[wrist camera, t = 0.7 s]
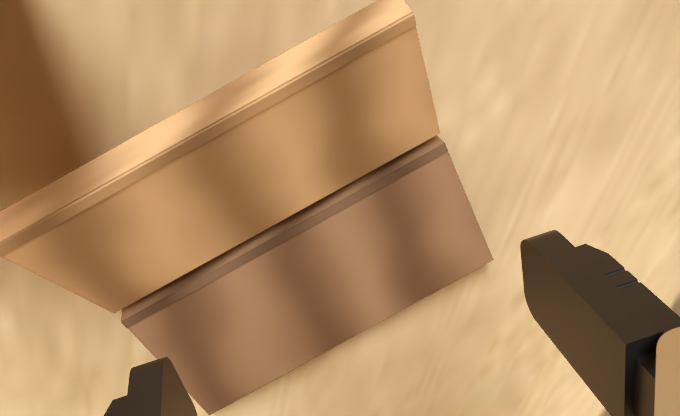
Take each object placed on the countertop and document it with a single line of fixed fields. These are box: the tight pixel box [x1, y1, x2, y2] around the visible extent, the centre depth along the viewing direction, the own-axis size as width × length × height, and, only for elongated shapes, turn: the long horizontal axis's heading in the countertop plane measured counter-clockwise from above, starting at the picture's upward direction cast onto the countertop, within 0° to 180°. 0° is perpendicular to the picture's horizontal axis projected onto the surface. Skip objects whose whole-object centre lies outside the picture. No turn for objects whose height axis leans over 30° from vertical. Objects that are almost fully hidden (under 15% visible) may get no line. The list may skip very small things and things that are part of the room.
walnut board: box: [121, 135, 493, 415], centre depth 36 cm, size 20×9×2 cm, turn 116°
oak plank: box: [0, 0, 440, 313], centre depth 29 cm, size 20×9×2 cm, turn 116°
